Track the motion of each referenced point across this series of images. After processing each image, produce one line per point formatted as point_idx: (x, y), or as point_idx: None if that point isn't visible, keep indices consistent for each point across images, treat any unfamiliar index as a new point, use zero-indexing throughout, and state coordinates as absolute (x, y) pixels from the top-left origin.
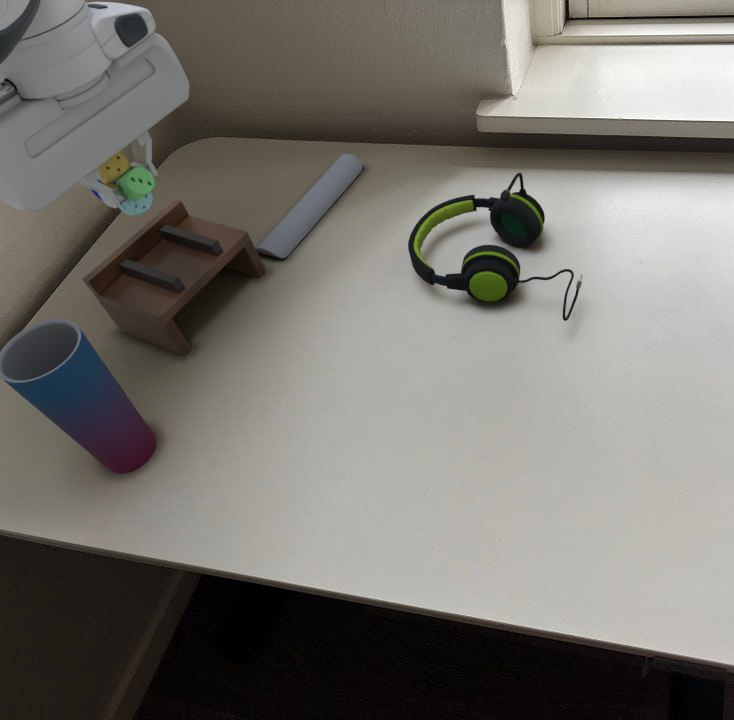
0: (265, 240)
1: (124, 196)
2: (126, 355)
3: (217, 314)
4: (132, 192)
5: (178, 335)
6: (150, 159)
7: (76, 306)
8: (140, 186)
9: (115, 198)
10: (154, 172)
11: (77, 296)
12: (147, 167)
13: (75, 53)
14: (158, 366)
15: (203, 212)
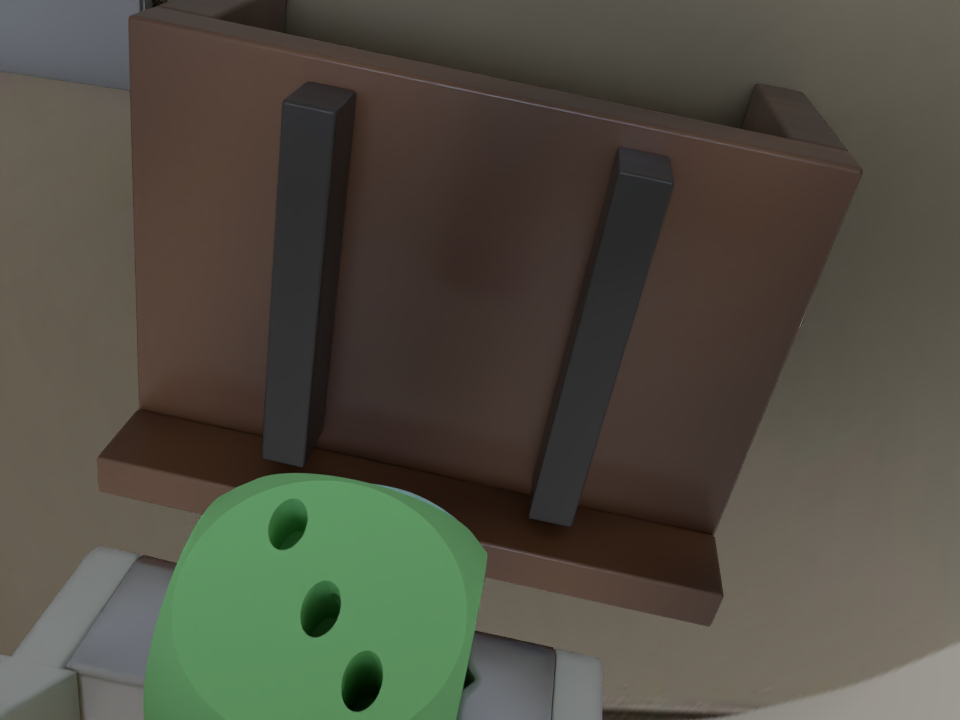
0: (87, 45)
1: (483, 660)
2: (806, 343)
3: (540, 77)
4: (477, 609)
5: (793, 113)
6: (5, 664)
7: (590, 619)
8: (380, 577)
9: (567, 712)
10: (108, 572)
11: (546, 637)
12: (104, 644)
13: None
14: (863, 181)
15: (49, 438)
